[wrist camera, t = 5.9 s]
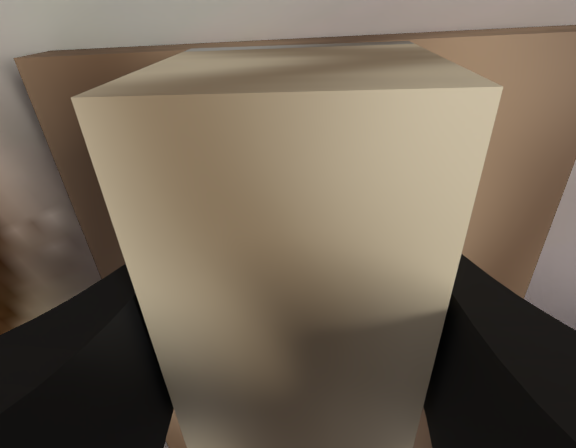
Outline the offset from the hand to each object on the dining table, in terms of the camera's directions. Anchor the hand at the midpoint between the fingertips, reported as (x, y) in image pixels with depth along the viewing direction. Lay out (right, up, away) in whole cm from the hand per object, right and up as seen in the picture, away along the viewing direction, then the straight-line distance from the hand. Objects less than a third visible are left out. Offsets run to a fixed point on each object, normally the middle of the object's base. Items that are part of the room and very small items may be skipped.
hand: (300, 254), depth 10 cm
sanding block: (0, +1, +1) cm, 1 cm away
